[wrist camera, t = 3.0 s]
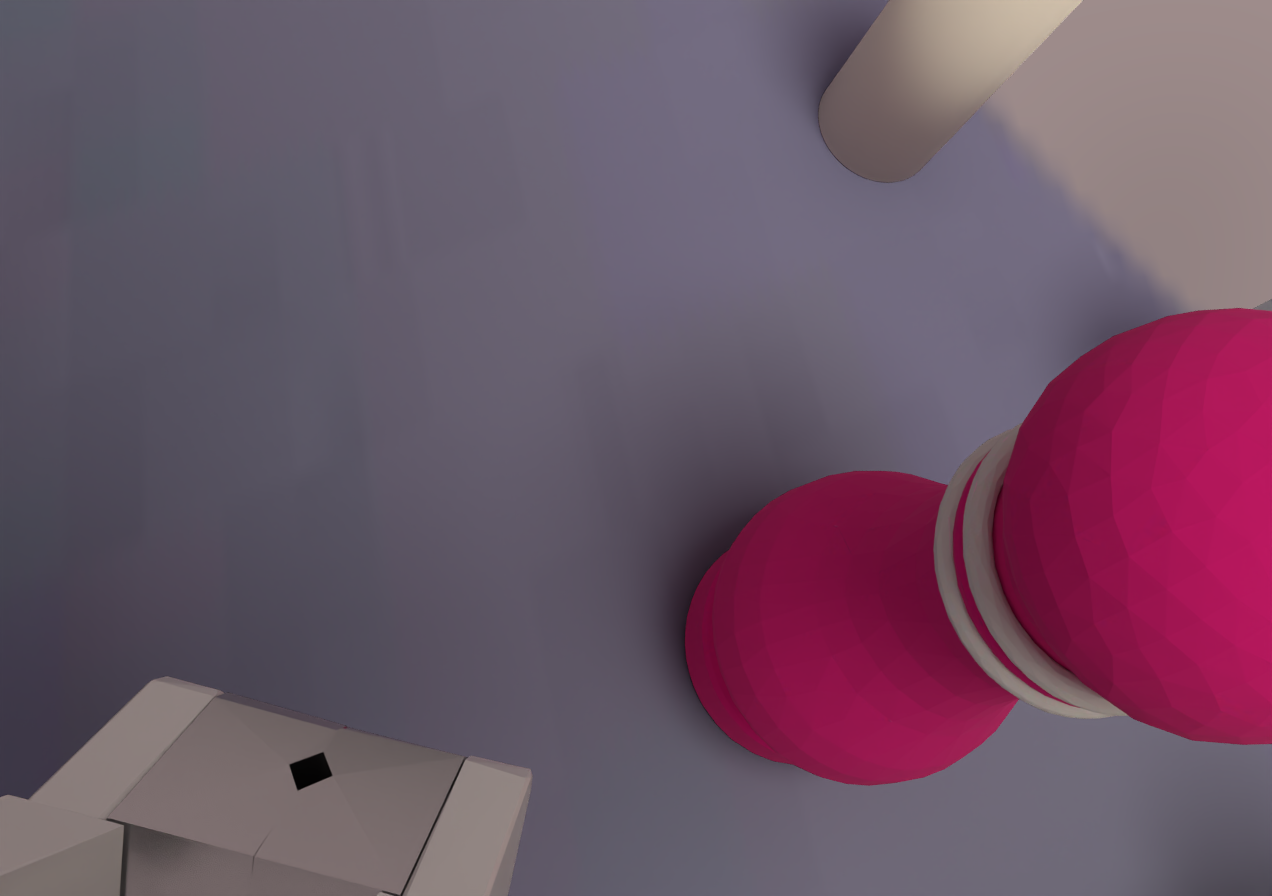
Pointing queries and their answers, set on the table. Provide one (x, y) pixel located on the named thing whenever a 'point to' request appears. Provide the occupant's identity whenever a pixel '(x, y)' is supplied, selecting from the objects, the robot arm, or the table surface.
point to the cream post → (926, 78)
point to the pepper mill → (1018, 573)
